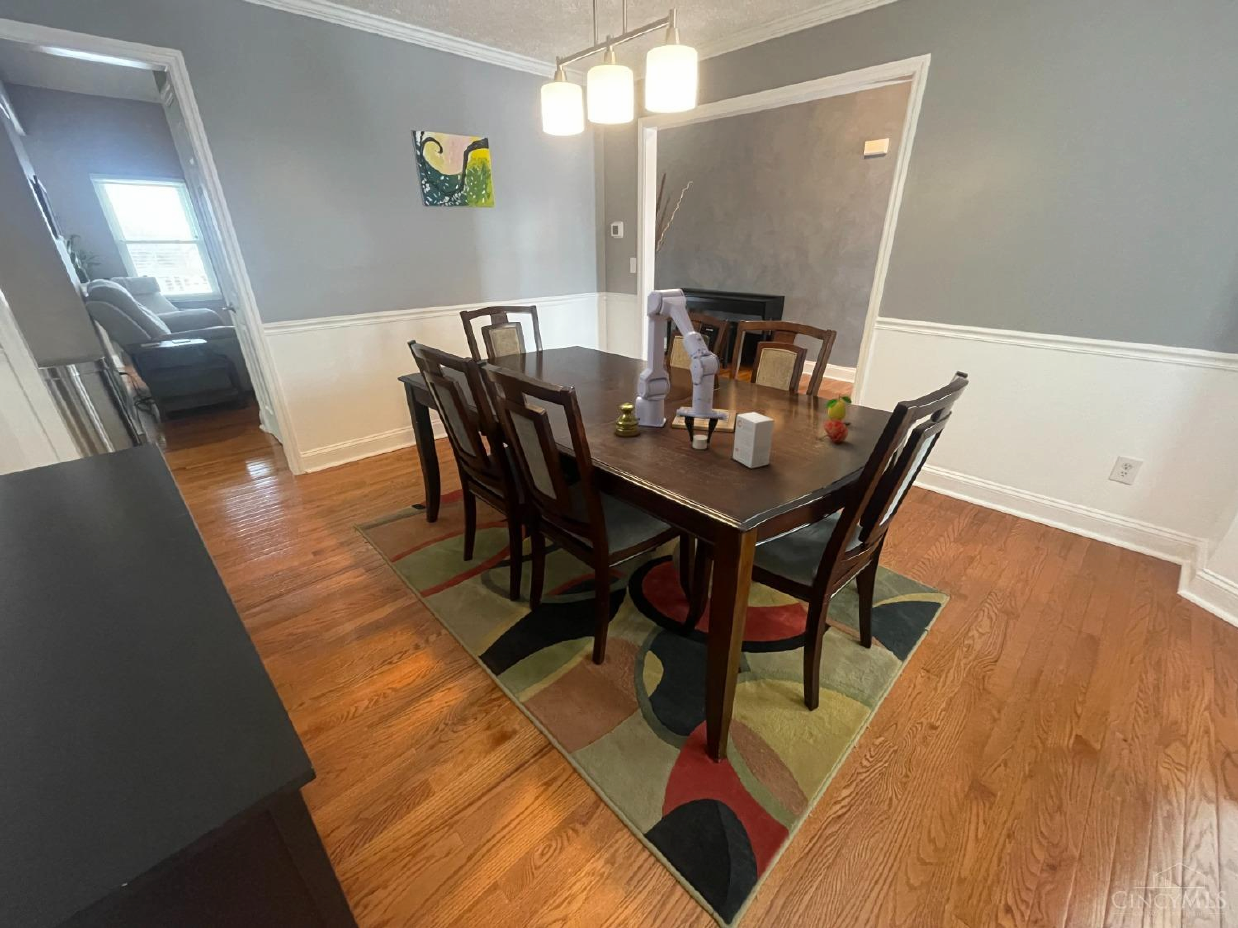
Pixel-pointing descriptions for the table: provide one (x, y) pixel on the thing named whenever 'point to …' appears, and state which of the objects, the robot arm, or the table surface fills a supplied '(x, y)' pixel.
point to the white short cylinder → (699, 441)
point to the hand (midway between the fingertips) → (700, 441)
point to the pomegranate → (836, 430)
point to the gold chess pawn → (627, 421)
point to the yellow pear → (837, 408)
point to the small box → (753, 439)
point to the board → (704, 423)
